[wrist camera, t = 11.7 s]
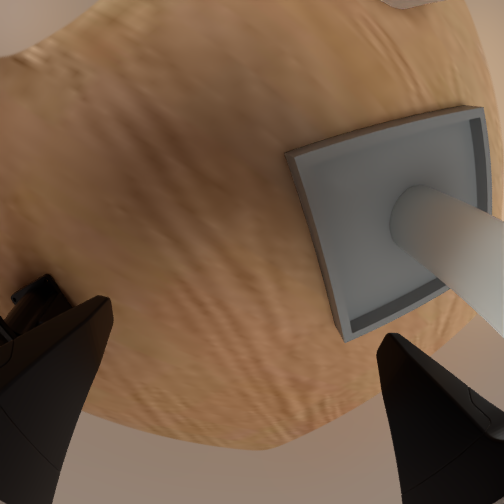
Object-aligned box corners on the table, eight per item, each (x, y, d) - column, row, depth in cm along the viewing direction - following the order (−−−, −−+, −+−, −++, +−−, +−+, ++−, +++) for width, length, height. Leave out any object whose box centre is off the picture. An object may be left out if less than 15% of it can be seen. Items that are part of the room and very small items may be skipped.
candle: (394, 260, 22) (500, 363, 10) (384, 197, 19) (526, 285, 7) (441, 235, 21) (547, 314, 10) (436, 176, 19) (568, 238, 7)
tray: (335, 325, 25) (344, 343, 23) (284, 153, 18) (294, 157, 16) (473, 254, 24) (488, 264, 22) (463, 105, 17) (483, 107, 15)
